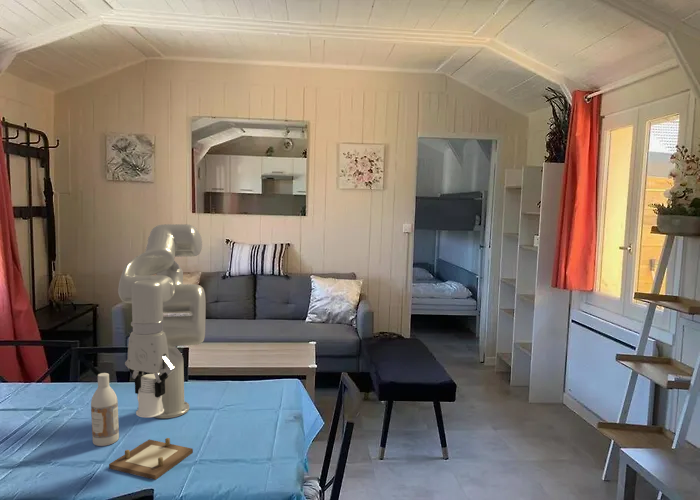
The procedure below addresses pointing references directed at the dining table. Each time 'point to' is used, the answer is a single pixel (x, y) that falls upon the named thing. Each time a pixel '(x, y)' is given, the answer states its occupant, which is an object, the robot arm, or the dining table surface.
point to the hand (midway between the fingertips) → (150, 393)
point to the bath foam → (104, 413)
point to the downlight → (148, 398)
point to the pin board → (151, 459)
